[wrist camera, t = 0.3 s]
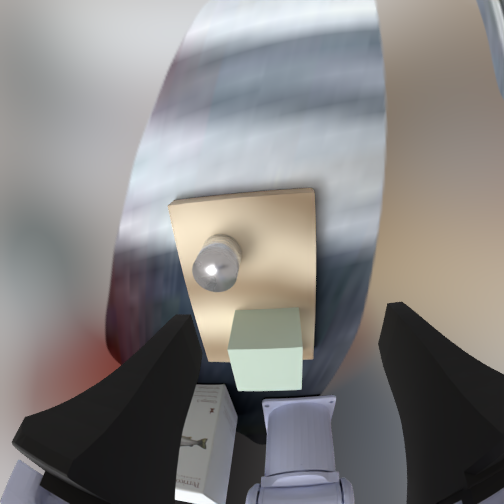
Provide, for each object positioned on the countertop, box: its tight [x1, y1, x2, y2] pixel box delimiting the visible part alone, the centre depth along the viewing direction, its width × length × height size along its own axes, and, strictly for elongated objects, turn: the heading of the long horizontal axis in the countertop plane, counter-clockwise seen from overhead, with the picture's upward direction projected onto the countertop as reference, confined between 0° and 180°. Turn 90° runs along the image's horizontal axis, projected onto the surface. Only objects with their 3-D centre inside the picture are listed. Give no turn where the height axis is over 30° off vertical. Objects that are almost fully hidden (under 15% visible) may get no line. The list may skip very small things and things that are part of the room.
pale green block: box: [227, 307, 303, 391], centre depth 19 cm, size 5×5×4 cm
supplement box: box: [175, 384, 237, 504], centre depth 22 cm, size 7×7×13 cm
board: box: [168, 188, 316, 362], centre depth 20 cm, size 14×9×1 cm, turn 6°
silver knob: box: [192, 234, 242, 292], centre depth 17 cm, size 3×3×4 cm
